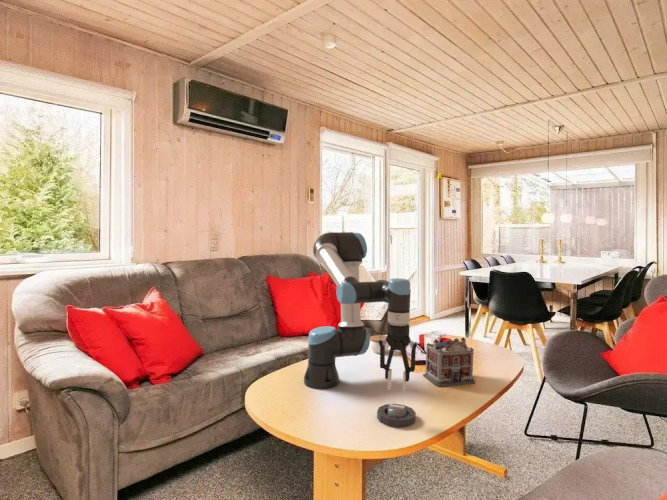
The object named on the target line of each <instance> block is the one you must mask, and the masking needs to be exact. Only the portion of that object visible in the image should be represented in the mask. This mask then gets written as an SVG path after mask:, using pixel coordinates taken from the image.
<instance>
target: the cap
mask: <svg viewBox="0 0 667 500" xmlns="http://www.w3.org/2000/svg"><path fill="white" fill-rule="evenodd" d="M389 404H390V406H388V414H387V415H389V416H393V417H404V416H406V408H405V406H406V405H405V406H402V405H403V404H400V405H396V404H397V403H389ZM392 404H394V405H392Z"/></svg>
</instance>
